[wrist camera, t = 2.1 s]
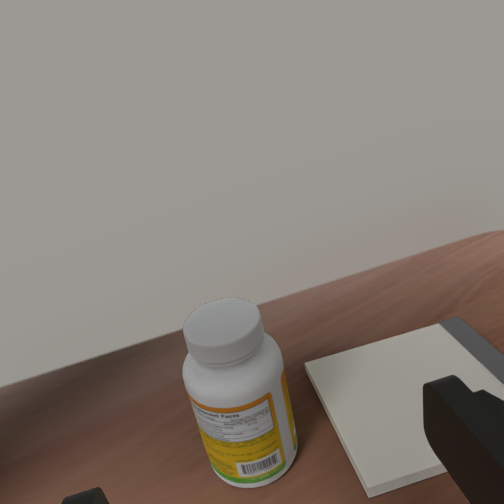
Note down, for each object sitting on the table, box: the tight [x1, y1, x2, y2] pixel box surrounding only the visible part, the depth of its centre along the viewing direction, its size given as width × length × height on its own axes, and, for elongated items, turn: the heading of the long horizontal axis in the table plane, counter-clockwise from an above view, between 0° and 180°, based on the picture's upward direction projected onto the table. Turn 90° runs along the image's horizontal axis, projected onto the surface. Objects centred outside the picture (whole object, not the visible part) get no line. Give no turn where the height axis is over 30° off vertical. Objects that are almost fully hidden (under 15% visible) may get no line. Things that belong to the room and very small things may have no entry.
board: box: [305, 316, 504, 498], centre depth 28 cm, size 12×10×1 cm
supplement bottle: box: [182, 298, 297, 488], centre depth 24 cm, size 5×5×10 cm
